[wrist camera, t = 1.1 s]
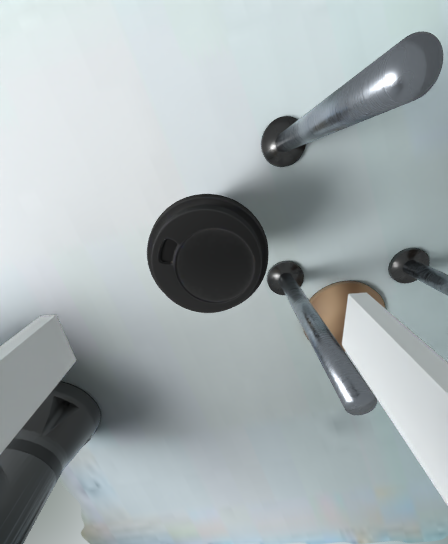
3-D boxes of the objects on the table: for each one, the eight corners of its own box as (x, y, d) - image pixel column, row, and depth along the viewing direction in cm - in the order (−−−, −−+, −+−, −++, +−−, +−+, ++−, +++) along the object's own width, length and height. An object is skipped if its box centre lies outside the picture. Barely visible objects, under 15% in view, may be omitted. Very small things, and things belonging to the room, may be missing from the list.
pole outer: (262, 169, 28) (337, 154, 9) (260, 120, 26) (349, -19, 7) (304, 164, 28) (466, 139, 9) (305, 114, 26) (511, -43, 7)
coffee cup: (171, 191, 29) (123, 205, 15) (247, 182, 28) (270, 187, 15) (185, 263, 32) (156, 327, 19) (253, 255, 32) (275, 315, 18)
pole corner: (267, 294, 34) (319, 433, 16) (266, 262, 32) (322, 377, 14) (302, 291, 34) (394, 427, 16) (302, 259, 32) (408, 370, 14)
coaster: (301, 351, 38) (302, 355, 37) (302, 285, 34) (304, 288, 33) (375, 344, 38) (379, 348, 37) (387, 276, 33) (391, 279, 32)
